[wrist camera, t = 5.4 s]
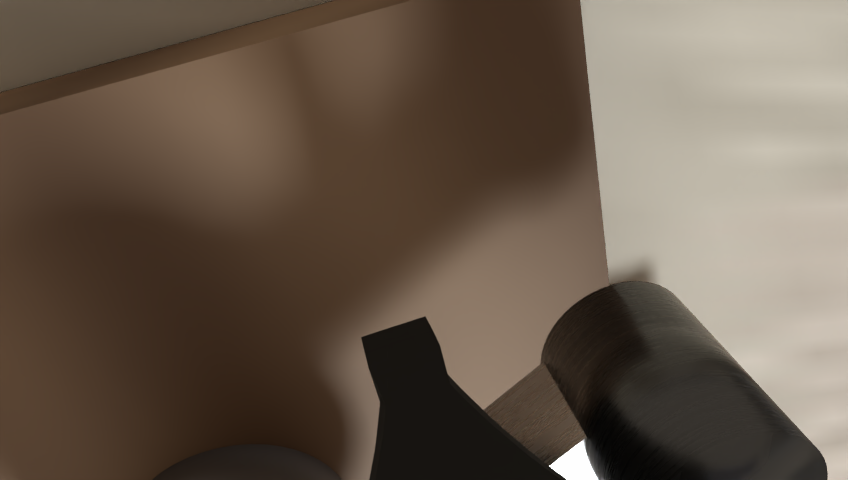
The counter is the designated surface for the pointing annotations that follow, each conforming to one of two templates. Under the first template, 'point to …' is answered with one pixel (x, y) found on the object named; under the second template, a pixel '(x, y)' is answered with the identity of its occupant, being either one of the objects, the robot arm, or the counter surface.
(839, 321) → the counter surface
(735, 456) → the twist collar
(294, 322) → the lock base
